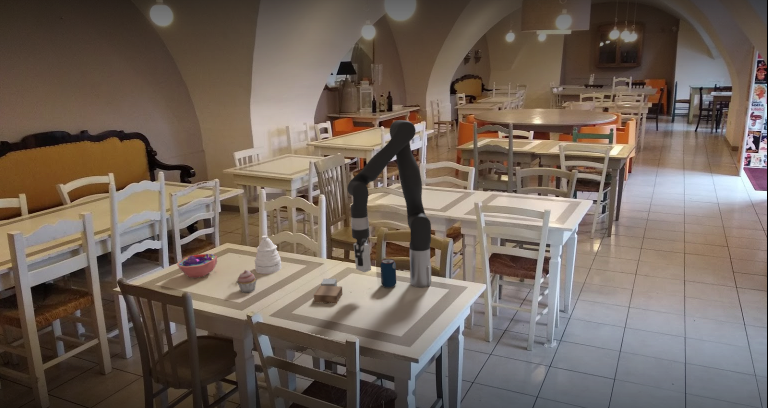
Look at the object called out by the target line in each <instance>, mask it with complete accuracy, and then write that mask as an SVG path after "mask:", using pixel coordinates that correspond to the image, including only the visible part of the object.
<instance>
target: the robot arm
mask: <svg viewBox="0 0 768 408" xmlns="http://www.w3.org/2000/svg"><path fill="white" fill-rule="evenodd" d="M416 131H417V130H416V127H415V125H414V123H412V122H411V121H408V120H404V119H403V120H402V119H399V120H394V121H393V122H392V123H391V125H390V127H389V135H390V139H389V141H388V142H387V143H386V145H384V146H383V147H382V148H381V149H380V150H378V151H377V152H376V153H375V154H374V155H373V156H372V157H371V159H369V161H368V162H367V163H366V164H365V165H364V167H363V168H362V170H360V171H359V172H358V173H357V174H356V175H354V176H353V178H352V179H351V180H349V182H348V184H347V187H346V188H347V193H348V194H349V195H351V196H352V204H351V205H350V216H351V221H350V225H351V226H350V227H351V237H352V239H355V240H356V242H355V243H356V245H353V249H354V248H355V254H354V259H355V258H357V260H358V266H363V253H364V247H363V250H362V251H361V247H362V246H365V243H366V244H369V237H370V221H369V216H368V213H369V212H368V202H369V188H368V184H370V183H371V182H375V181H376V180H377V179H378V177H379V176H380V175H381V173H382V172H384V171H383V170H385V169H386V167H387V165H388V164H389V163H391V161H392V160H393V159H394V158H396V163H397V165H396V166H397V169H398V177H399V182H400V187H401V190H402V195H403V198H404V201H405V205H406V217H407V225H408V228H409V229H410V242H409V272H410V273H409V276H410V279H409V281H410V285H411V286H413V287H414V288H415V287H416V288H427V287H430V286H431V284H432V262H431V242H432V224H431V220H430V219H429V217H428V216H427V215H426V212H425V208H424V206H423V200H422V199H423V198H422V197H423V196H422V195H423V182H422V181H423V180H422V175H421V171H420V167H419V165H418V163H417V160H416V158H415V156H414V154H413V152H412V148H411V144H410V143H411V141H412V140H413V139H414V137H415V136H416ZM359 254H360V255H359Z"/></svg>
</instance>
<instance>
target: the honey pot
mask: <svg viewBox="0 0 768 408" xmlns="http://www.w3.org/2000/svg"><path fill="white" fill-rule="evenodd" d="M277 248H278V246H277V245H276V244H274V243H273V241H272V240H271V239H270V237H268V235H262V236H261V240H260V243H259V245H258V246H257V247H256V251H257V252H256V254H255V259H254V267H255V272H256V273H258V274H262V275H267V274H274V273H277V272H279V271H281V270H282V259H281V256H280V254H279V251H278V250H277ZM280 269H281V270H280Z"/></svg>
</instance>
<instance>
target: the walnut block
mask: <svg viewBox="0 0 768 408" xmlns="http://www.w3.org/2000/svg"><path fill="white" fill-rule="evenodd" d="M342 295H343V286H339V285H337V286H321V285H320V286H318V288H317V289H316V291H315V292H314V294H313V302H314V303H315V304H335V305H336V304H338V302H339V301H340V299H341V298H342Z"/></svg>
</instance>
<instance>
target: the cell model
mask: <svg viewBox="0 0 768 408" xmlns="http://www.w3.org/2000/svg"><path fill="white" fill-rule="evenodd" d="M217 264H218V256H217V255H216V254H213V253H203V254H201V253H200V254H194V255H188V256H186V257H184V258H183V259H181V260H180V261H178V262H177V264H176V265H177V267H178V269H179V270H180V271H181V272H182V273H183V274H184V275H185V276H187V277H188V278H192V279H197V278H202V277H205V276H207V275H209V274H210V273H212V272H213V270H214V269H215V268H216V265H217Z"/></svg>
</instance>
